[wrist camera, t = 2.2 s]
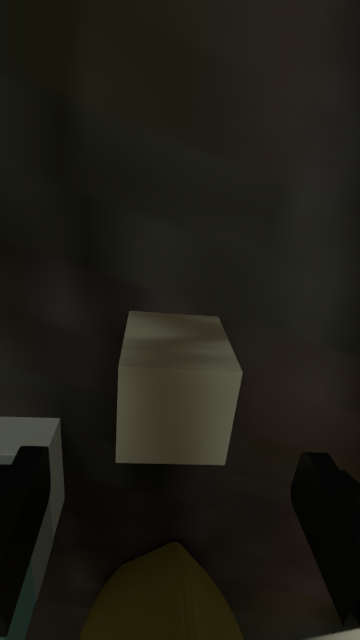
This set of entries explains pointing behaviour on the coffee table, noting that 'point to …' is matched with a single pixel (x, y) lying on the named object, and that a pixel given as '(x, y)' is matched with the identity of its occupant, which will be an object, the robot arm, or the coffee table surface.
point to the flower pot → (161, 602)
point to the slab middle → (38, 541)
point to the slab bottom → (23, 431)
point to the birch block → (175, 390)
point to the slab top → (23, 609)
